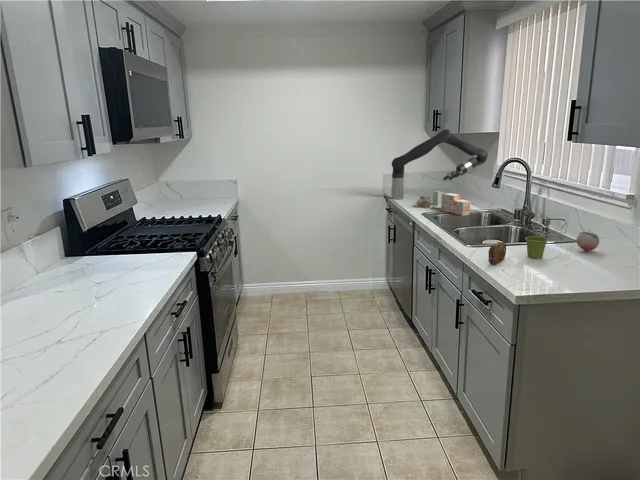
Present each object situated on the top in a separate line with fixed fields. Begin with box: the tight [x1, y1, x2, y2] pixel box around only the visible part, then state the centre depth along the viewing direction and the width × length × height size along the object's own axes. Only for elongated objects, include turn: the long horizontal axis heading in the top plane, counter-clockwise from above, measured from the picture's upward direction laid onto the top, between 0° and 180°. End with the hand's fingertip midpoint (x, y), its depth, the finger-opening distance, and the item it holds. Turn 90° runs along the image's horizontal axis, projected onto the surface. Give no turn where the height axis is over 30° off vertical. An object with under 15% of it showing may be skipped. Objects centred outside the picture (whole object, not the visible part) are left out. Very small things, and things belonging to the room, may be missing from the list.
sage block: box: [432, 190, 444, 207], centre depth 328 cm, size 5×5×10 cm
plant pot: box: [524, 235, 549, 260], centre depth 199 cm, size 9×9×9 cm
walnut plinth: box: [416, 198, 432, 209], centre depth 323 cm, size 9×9×5 cm
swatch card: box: [430, 205, 441, 210], centre depth 317 cm, size 9×7×1 cm
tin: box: [488, 241, 507, 265], centre depth 195 cm, size 15×3×8 cm, turn 138°
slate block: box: [419, 194, 431, 199], centre depth 334 cm, size 5×5×6 cm
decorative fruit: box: [576, 230, 600, 252], centre depth 205 cm, size 9×8×10 cm
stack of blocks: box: [440, 192, 471, 216], centre depth 299 cm, size 21×6×12 cm, turn 25°
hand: (446, 179), depth 321 cm, fingers open, 8 cm apart
